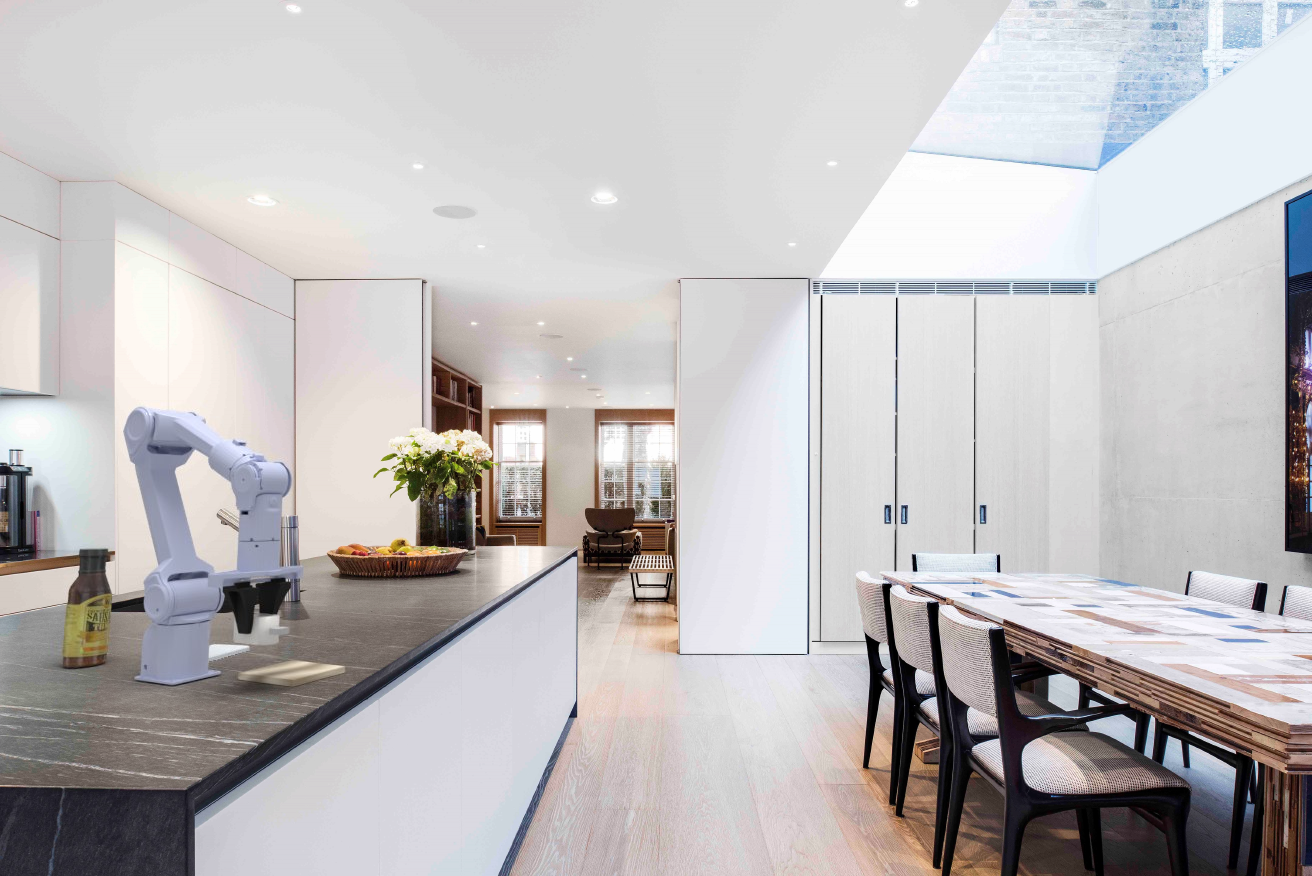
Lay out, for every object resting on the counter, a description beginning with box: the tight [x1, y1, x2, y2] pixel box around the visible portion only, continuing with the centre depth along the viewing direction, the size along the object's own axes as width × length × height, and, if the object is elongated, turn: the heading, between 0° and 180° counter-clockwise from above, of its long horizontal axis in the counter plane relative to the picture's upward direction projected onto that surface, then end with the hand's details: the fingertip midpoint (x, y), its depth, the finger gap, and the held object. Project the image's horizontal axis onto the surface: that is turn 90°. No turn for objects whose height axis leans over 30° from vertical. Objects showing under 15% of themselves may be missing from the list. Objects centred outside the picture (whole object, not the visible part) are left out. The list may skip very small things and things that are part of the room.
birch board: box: [237, 659, 346, 688], centre depth 118 cm, size 12×10×1 cm
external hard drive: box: [209, 643, 250, 662], centre depth 133 cm, size 2×8×12 cm
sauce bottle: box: [61, 547, 113, 668], centre depth 128 cm, size 6×6×20 cm
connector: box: [232, 612, 291, 646], centre depth 111 cm, size 10×3×4 cm, turn 65°
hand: (255, 631), depth 111 cm, fingers closed on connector, 3 cm apart
